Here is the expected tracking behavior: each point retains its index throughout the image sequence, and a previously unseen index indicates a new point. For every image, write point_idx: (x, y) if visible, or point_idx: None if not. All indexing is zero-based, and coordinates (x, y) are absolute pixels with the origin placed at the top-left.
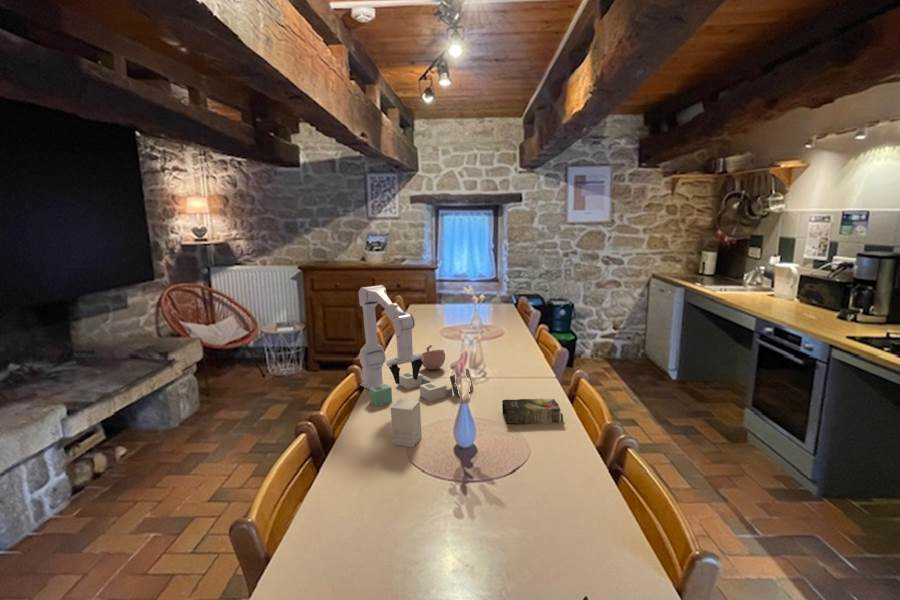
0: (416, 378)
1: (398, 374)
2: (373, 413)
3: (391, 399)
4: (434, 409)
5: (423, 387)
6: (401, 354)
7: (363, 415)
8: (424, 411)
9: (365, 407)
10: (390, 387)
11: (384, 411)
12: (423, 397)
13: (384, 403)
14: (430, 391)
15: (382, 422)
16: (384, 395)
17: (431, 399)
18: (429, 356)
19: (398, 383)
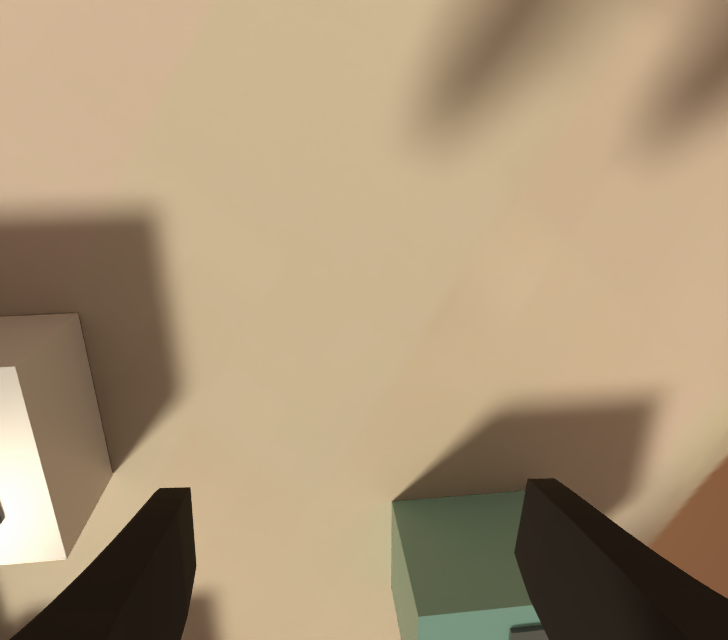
0: (168, 501)
1: (684, 614)
2: (643, 382)
3: (400, 516)
4: (132, 87)
5: (49, 489)
6: None
7: (719, 394)
8: (258, 117)
9: (614, 514)
10: (427, 618)
11: (556, 364)
12: (100, 425)
13: (468, 497)
14: (10, 358)
15: (714, 165)
16: (486, 553)
17: (50, 318)
18: None
19: (551, 484)
